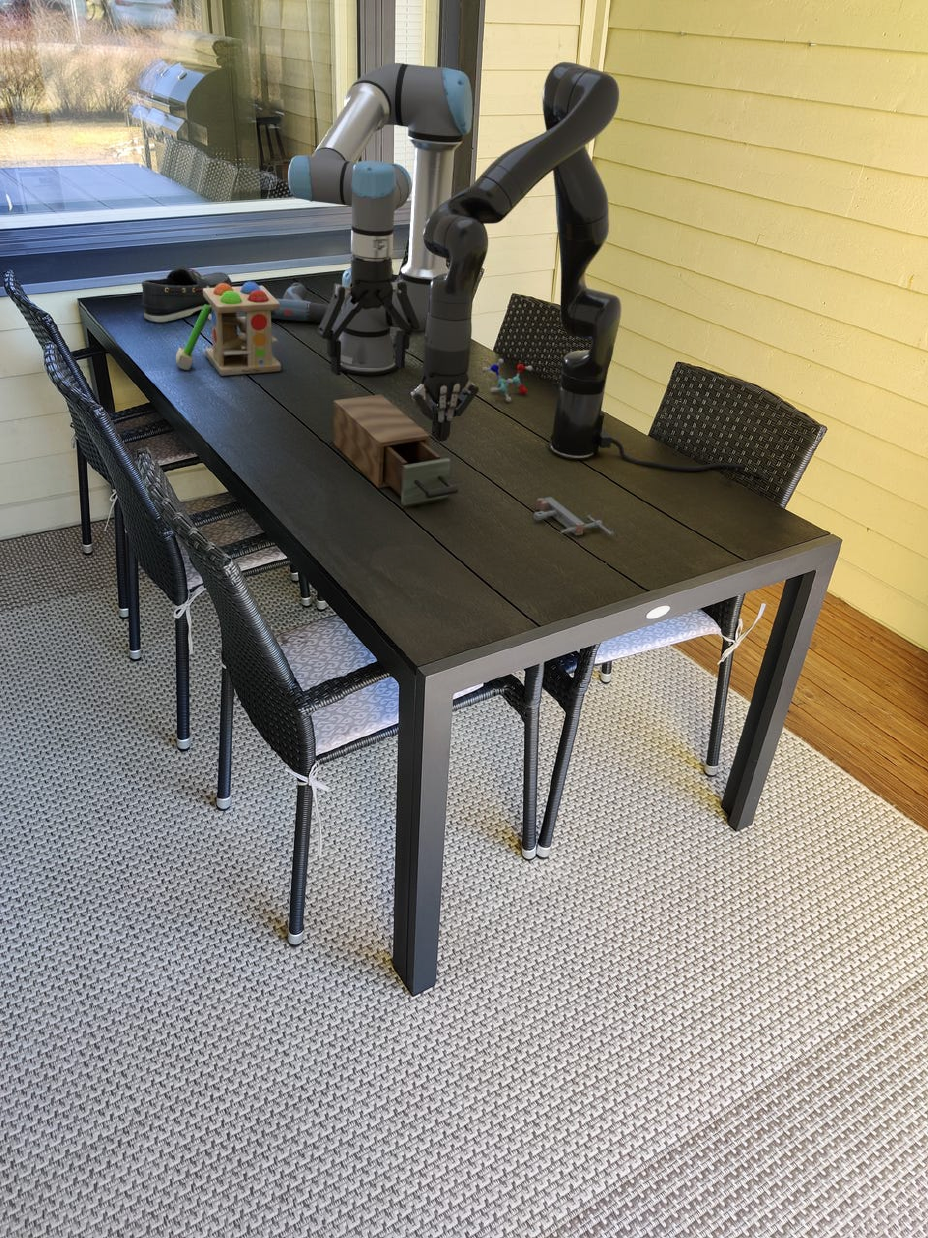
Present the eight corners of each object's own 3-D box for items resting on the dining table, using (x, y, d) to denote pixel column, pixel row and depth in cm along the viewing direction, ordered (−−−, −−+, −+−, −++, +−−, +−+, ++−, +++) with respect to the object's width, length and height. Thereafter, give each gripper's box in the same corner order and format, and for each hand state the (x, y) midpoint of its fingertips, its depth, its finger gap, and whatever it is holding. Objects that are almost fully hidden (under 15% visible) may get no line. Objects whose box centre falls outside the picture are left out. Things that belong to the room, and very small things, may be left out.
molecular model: (528, 394, 221) (514, 351, 219) (490, 408, 224) (476, 365, 223) (540, 392, 231) (527, 351, 230) (504, 406, 235) (491, 365, 234)
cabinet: (426, 479, 190) (429, 435, 185) (378, 488, 185) (380, 442, 180) (379, 436, 204) (380, 394, 199) (333, 443, 200) (333, 400, 194)
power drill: (344, 304, 276) (335, 327, 259) (277, 298, 275) (264, 321, 258) (344, 285, 273) (335, 306, 256) (277, 279, 272) (264, 300, 255)
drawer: (463, 511, 178) (467, 474, 174) (419, 520, 174) (421, 482, 170) (399, 453, 196) (401, 418, 192) (357, 459, 192) (358, 424, 188)
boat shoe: (251, 301, 273) (249, 262, 267) (161, 324, 249) (157, 282, 243) (217, 292, 278) (215, 254, 273) (126, 314, 254) (121, 273, 249)
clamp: (523, 501, 180) (568, 492, 185) (522, 511, 182) (566, 502, 186) (570, 539, 170) (616, 528, 174) (568, 550, 171) (614, 539, 176)
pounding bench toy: (183, 379, 220) (176, 299, 210) (169, 357, 231) (162, 280, 221) (282, 371, 230) (280, 294, 220) (264, 350, 240) (262, 276, 230)
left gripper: (315, 265, 169) (315, 383, 181) (441, 257, 181) (434, 368, 192) (299, 253, 175) (300, 369, 186) (422, 247, 186) (416, 356, 198)
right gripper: (422, 353, 155) (416, 453, 165) (493, 345, 161) (483, 442, 171) (401, 337, 160) (396, 436, 170) (471, 330, 166) (462, 426, 176)
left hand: (368, 369), depth 189 cm, fingers open, 13 cm apart
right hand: (440, 439), depth 170 cm, fingers closed
